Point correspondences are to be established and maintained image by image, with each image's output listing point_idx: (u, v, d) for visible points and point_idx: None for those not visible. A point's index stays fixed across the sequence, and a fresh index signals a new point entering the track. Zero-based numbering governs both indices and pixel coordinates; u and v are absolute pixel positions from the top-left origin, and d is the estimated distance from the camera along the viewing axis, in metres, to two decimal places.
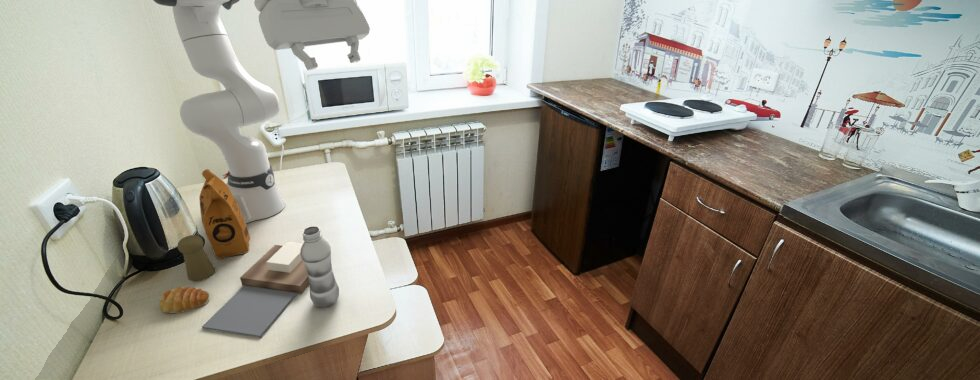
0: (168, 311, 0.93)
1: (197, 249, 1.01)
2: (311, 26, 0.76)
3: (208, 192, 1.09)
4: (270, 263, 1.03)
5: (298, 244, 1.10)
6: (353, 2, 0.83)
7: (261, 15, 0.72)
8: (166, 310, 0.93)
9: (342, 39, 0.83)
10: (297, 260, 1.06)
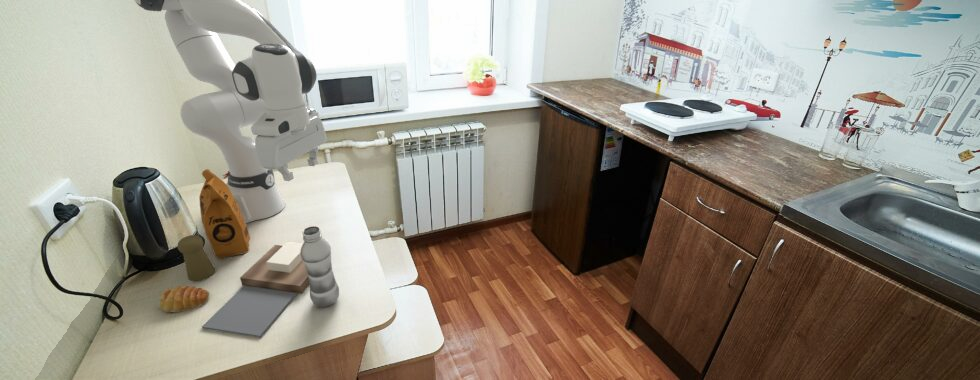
0: (168, 310, 0.94)
1: (197, 249, 1.01)
2: (294, 149, 0.97)
3: (208, 192, 1.09)
4: (270, 263, 1.03)
5: (298, 244, 1.10)
6: (319, 120, 1.05)
7: (261, 144, 0.90)
8: (166, 309, 0.94)
9: None
10: (297, 260, 1.06)
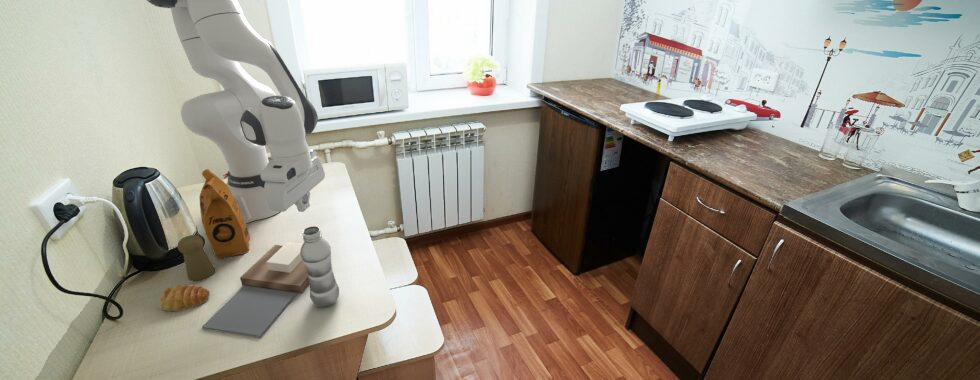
0: (169, 309, 0.94)
1: (197, 249, 1.01)
2: (299, 190, 1.05)
3: (208, 192, 1.09)
4: (270, 263, 1.03)
5: (298, 244, 1.10)
6: (318, 159, 1.13)
7: (270, 190, 0.98)
8: (167, 308, 0.94)
9: None
10: (297, 260, 1.06)
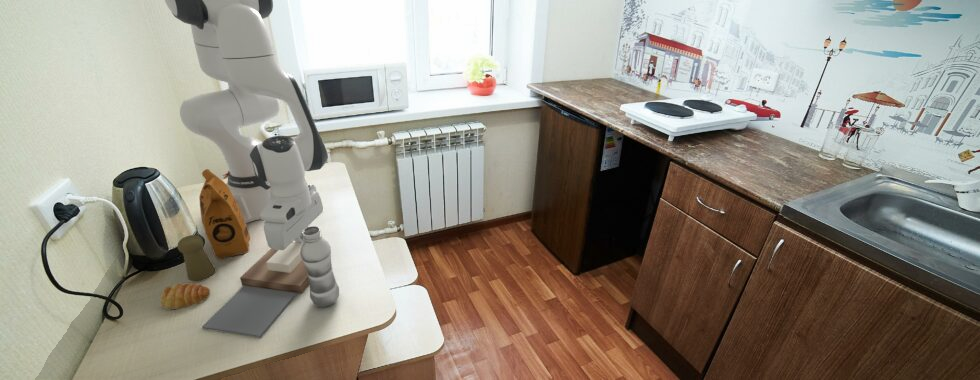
0: (170, 307, 0.95)
1: (197, 249, 1.01)
2: (298, 228, 1.07)
3: (208, 192, 1.09)
4: (270, 264, 1.03)
5: (298, 244, 1.10)
6: (317, 194, 1.15)
7: (270, 230, 0.99)
8: (168, 306, 0.94)
9: None
10: (297, 260, 1.06)
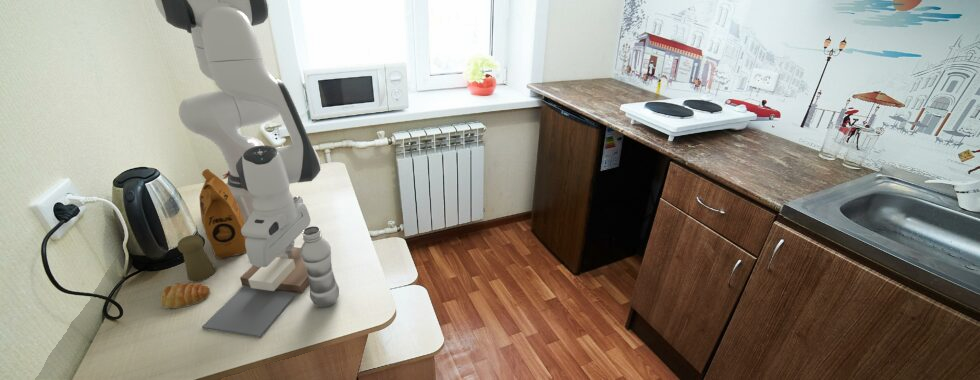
0: (170, 306, 0.95)
1: (197, 249, 1.01)
2: (282, 242, 1.01)
3: (208, 192, 1.09)
4: (252, 281, 0.97)
5: (283, 260, 1.04)
6: (304, 206, 1.09)
7: (251, 246, 0.94)
8: (168, 305, 0.95)
9: None
10: (282, 277, 1.00)
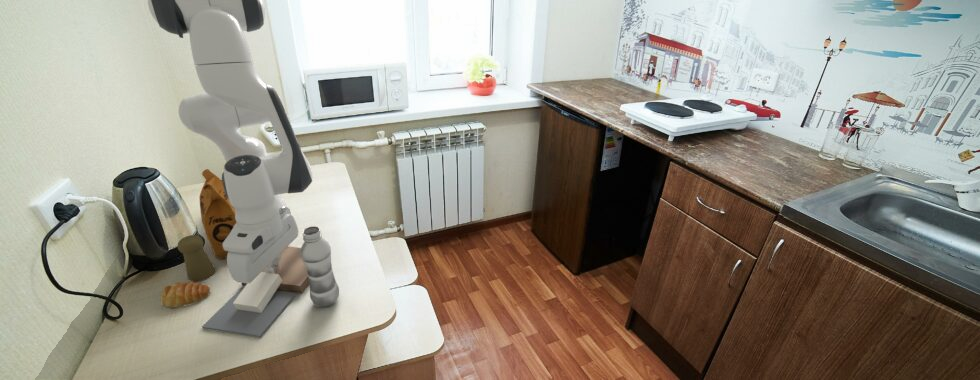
0: (171, 305, 0.95)
1: (197, 249, 1.01)
2: (267, 256, 0.96)
3: (208, 191, 1.09)
4: (237, 304, 0.93)
5: (268, 275, 0.99)
6: (291, 217, 1.04)
7: (234, 261, 0.89)
8: (168, 305, 0.95)
9: None
10: (268, 296, 0.96)
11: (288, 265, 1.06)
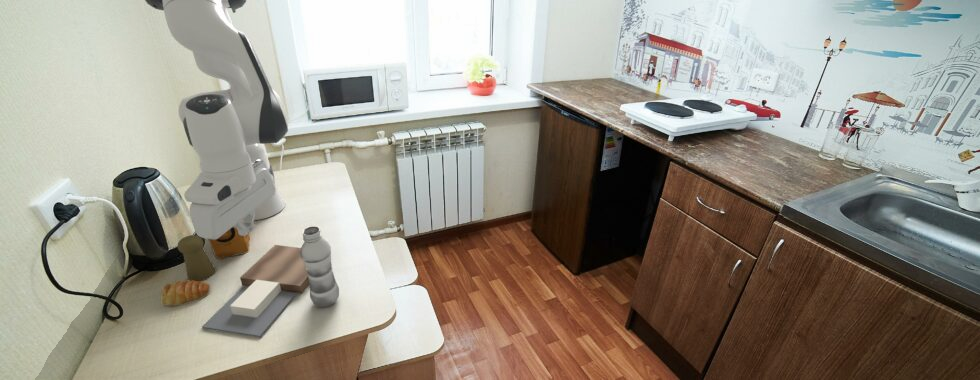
0: (171, 304, 0.96)
1: (197, 249, 1.01)
2: (238, 212, 0.86)
3: None
4: (234, 307, 0.93)
5: (268, 283, 0.99)
6: (267, 171, 0.93)
7: (197, 213, 0.78)
8: (169, 303, 0.95)
9: None
10: (266, 302, 0.95)
11: (288, 265, 1.06)
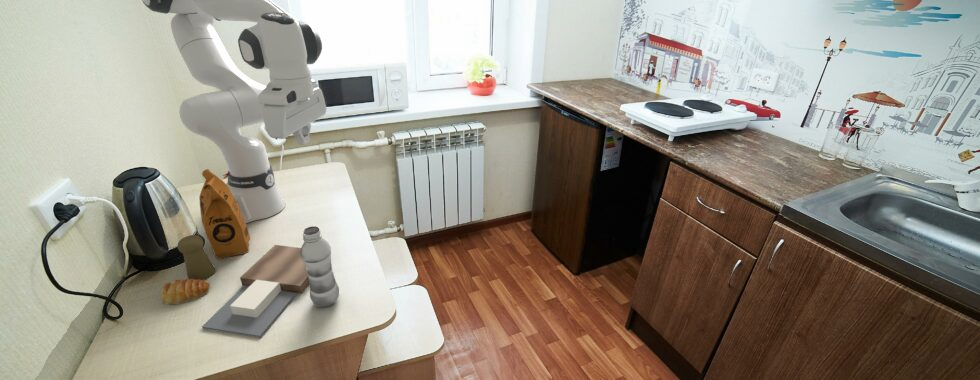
0: (171, 302, 0.96)
1: (197, 249, 1.01)
2: (299, 119, 0.98)
3: (208, 192, 1.09)
4: (234, 307, 0.93)
5: (268, 283, 0.99)
6: (320, 91, 1.06)
7: (269, 113, 0.91)
8: (169, 301, 0.96)
9: None
10: (266, 302, 0.95)
11: (288, 265, 1.06)
